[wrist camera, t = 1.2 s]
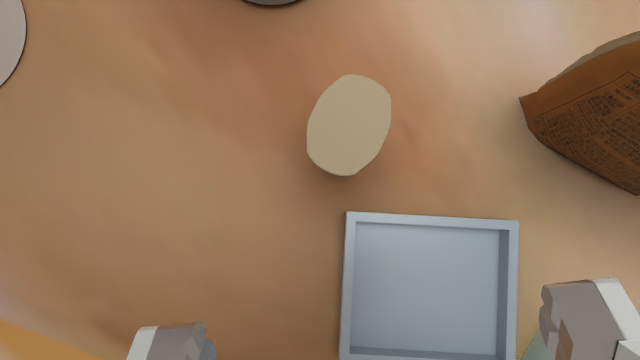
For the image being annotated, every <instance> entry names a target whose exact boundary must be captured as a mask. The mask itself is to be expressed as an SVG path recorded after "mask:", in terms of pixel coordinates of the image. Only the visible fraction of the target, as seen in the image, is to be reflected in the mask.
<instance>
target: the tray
mask: <svg viewBox="0 0 640 360" xmlns="http://www.w3.org/2000/svg"><path fill="white" fill-rule="evenodd" d="M518 249H519V221H512V220H494V219H475V218H457V217H439V216H421V215H403V214H385V213H367V212H349V211H347V212H345V230H344V249H343V269H342V288H341V308H340V327H339V346H338V357H339V360H516V325H517V287H518Z"/></svg>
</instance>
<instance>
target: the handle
mask: <svg viewBox="0 0 640 360" xmlns="http://www.w3.org/2000/svg"><path fill="white" fill-rule="evenodd" d="M390 123H391V97H390V96H389V94H388V92H387V91H386V90H385V89H384V88H383V87H382V86H381V85H380V84H378V83H377V82H375V81H373V80H372V79H369V78H367V77H364V76H360V75H345V76H342V77H341V78H340V79H339V80H337V81H336V82H335V83H333V84H332V85H331V86H330V87H329V88H327V89H326V90H325V91H324V92H323V94H322V95H321V96H320V98H319V99H318V101H317V103H316V105H315V107H314V109H313V111H312V114H311V116H310V118H309V121H308V126H307V154H308V156H309V157H310V159H311V160H312V161H313V163H314V164H315V165H316V166H318V167H319V168H320V169H322V170H324V171H326V172H327V173H330V174H333V175H336V176H341V177H344V176H354V175H355V174H356V173H358V172H359V171H360V170H361V169H363V168H364V167H365V166H366V165H367V164H368V163H370V162H371V161H372V160H373V159H374V158H375V157H376V156H377V154H378V153H379V151H380V149H381V147H382V145H383V142H384V140H385V138H386V136H387V134H388V131H389V128H390Z"/></svg>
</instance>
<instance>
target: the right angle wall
mask: <svg viewBox="0 0 640 360" xmlns="http://www.w3.org/2000/svg"><path fill="white" fill-rule="evenodd" d="M521 360H555V355H554V354H553V353H551V352H550V351H549V350H547V348H546V345H545V343H544V340H543V337H542V333H541V329H539V331H538V332H537V334H536V336H535V337H534V339H533V340H532V342H531V344H530V345H529V347H528V348H527V350H526V352H525V353H524V355H523V357H522V358H521Z"/></svg>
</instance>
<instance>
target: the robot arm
mask: <svg viewBox="0 0 640 360" xmlns="http://www.w3.org/2000/svg"><path fill="white" fill-rule="evenodd" d="M25 35H26V21H25V14H24V10H23V6H22V3H21V1H20V0H0V85H1V84H2V83H3V82H4V81H5V80H6V79H7V78H8V77H9V75H10V74H11V73H12V71H13V70H14V68H15V66H16V64H17V63H18V60H19V58H20V56H21V53H22V50H23V46H24V42H25ZM541 297H542V299H543V302H544V305H543V306H542V307H541V308H540V313H539V321H540V329H541V333H542V337H543V340H544V343H545V345H546V348H547V350H549V351H550V352H551V353H553V354H554V355H555V360H640V315H639V313H638V312H637V310H636V308H635V307H634V305H633V303H632V302H631V300H630V298H629V297H628V295H627V293H626V292H625V290H624V289H623V287H622V285H621V284H620V282H619V281H618V280H617V279H616V278H614V277H613V278H603V279H594V280H581V281H572V282H564V283H556V284H547V285H544V286H543V288H542V293H541ZM205 333H206V329H205V328H204V326H203V324H202V322H194V323H181V324H168V325H157V326H146V327H141V328H140V329H139V330H138V331H137V333H136V335H135V338H134V340H133V343H132V346H131V348H130V351H129V354H128V356H127V359H126V360H217V356H216V352H215V348H214V346H213V343H212V342H211V341H210V340H208V339H206V338H205Z"/></svg>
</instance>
